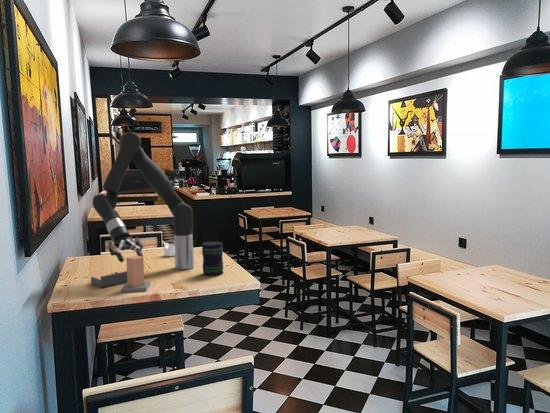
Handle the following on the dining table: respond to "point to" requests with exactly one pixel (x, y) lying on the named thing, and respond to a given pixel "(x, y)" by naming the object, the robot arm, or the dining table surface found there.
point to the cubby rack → (110, 280)
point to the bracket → (169, 249)
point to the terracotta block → (135, 271)
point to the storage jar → (212, 258)
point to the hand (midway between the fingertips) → (132, 259)
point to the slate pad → (136, 289)
